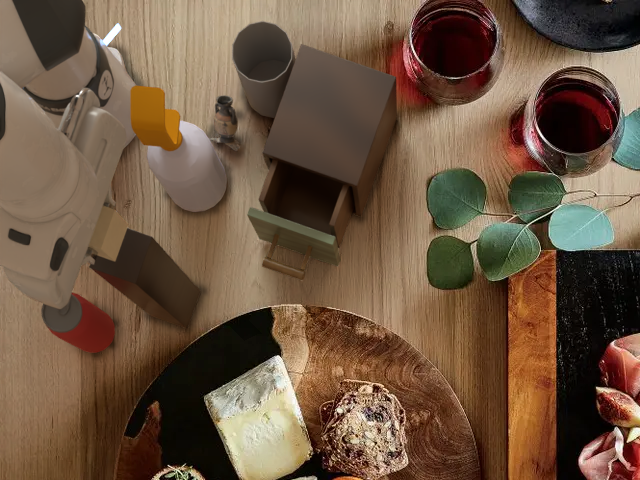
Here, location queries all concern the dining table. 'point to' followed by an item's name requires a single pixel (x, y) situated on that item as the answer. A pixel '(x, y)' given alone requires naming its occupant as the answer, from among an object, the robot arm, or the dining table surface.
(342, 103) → the cabinet
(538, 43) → the dining table surface
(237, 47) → the cup
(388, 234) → the dining table surface
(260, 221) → the drawer
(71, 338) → the beer can
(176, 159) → the soap bottle
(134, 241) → the plinth
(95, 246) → the block
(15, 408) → the dining table surface
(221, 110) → the vase
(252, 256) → the dining table surface
